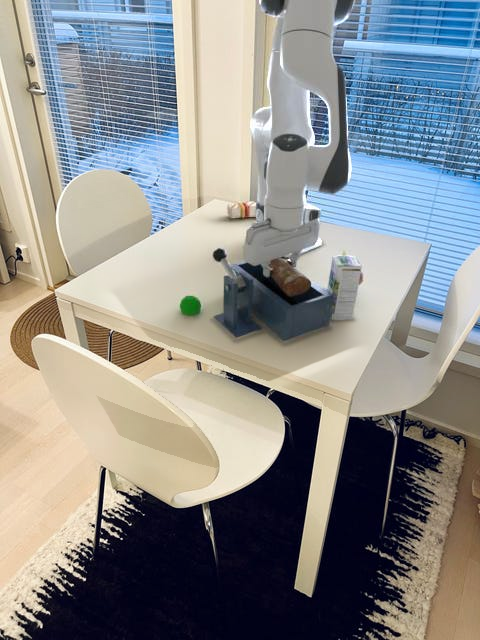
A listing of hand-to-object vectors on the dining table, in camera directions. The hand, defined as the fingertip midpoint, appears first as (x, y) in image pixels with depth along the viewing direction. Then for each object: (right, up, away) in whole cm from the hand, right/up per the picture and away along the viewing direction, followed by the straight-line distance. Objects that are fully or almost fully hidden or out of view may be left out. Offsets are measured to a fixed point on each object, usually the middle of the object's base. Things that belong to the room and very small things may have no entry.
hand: (279, 271), depth 117 cm
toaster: (0, -9, +6) cm, 11 cm away
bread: (0, -2, +1) cm, 2 cm away
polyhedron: (-21, -10, +4) cm, 24 cm away
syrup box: (+15, -10, +6) cm, 19 cm away
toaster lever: (-12, -1, -2) cm, 12 cm away
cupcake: (+18, -4, +16) cm, 24 cm away
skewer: (-3, +25, +60) cm, 65 cm away
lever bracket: (-10, -13, 0) cm, 16 cm away
